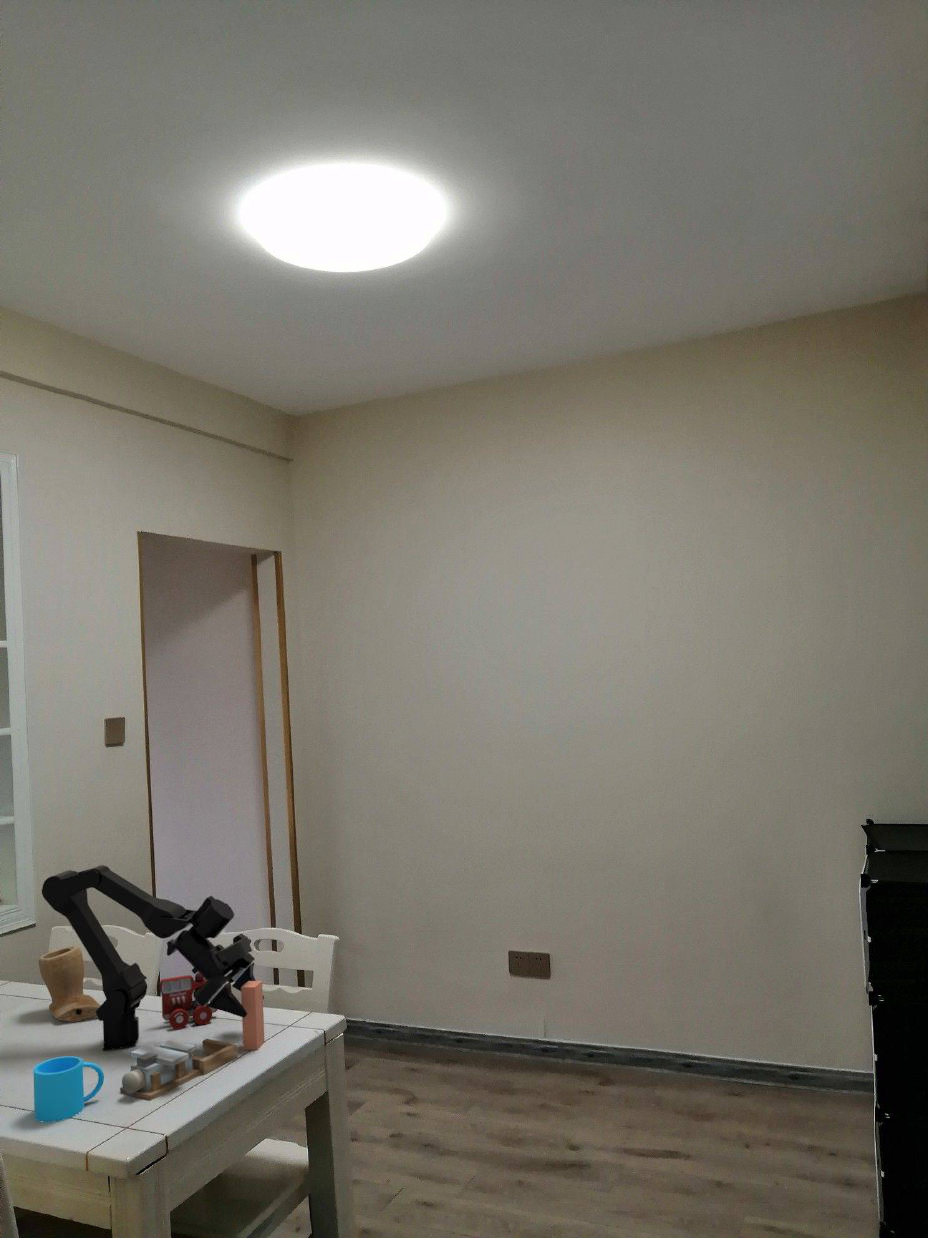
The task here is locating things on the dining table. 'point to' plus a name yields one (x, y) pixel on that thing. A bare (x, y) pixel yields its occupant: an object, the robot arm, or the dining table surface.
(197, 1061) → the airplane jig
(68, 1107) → the mug
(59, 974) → the tan hollow boot shape
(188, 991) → the toy fire truck
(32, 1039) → the dining table surface
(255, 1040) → the salmon pink box
